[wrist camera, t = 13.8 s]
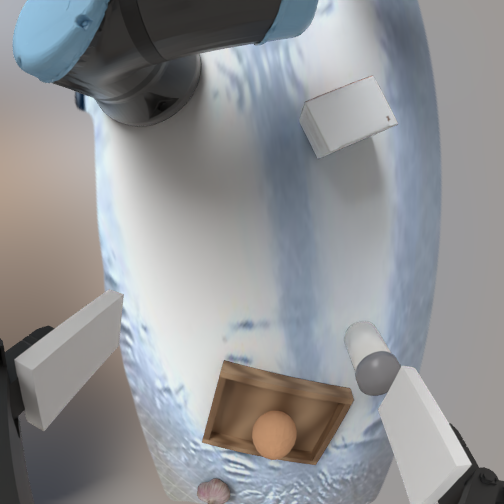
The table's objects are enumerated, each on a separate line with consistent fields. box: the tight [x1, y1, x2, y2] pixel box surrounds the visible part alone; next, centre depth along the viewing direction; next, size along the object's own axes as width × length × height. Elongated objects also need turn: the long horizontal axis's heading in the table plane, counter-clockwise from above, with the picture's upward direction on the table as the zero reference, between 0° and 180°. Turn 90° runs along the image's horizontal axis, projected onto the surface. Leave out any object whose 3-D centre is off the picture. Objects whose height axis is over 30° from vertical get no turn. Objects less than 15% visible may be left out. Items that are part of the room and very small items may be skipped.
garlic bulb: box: [197, 479, 230, 504], centre depth 49 cm, size 8×7×8 cm
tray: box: [202, 360, 354, 465], centre depth 46 cm, size 20×16×3 cm
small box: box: [299, 76, 398, 159], centre depth 32 cm, size 8×6×10 cm
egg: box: [252, 411, 297, 460], centre depth 42 cm, size 7×7×9 cm
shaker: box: [344, 321, 401, 396], centre depth 38 cm, size 5×5×11 cm
